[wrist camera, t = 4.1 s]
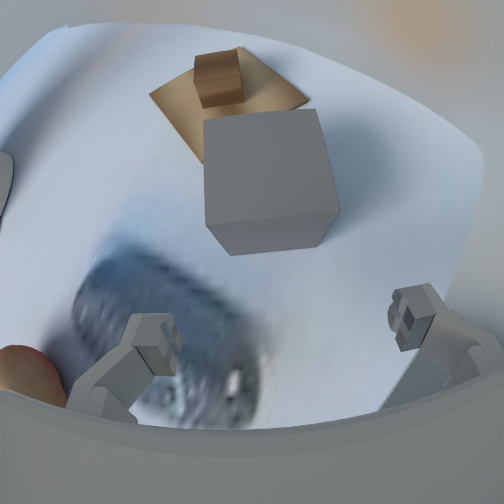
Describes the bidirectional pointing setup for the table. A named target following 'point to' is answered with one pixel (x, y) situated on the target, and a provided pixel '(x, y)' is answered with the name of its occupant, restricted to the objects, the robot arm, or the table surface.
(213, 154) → the plain grey cube
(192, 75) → the cork mat
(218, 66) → the walnut block
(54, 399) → the fruit
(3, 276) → the table surface
